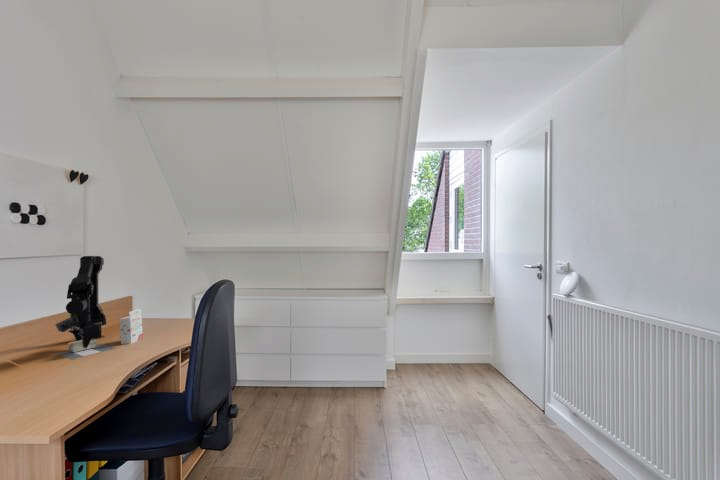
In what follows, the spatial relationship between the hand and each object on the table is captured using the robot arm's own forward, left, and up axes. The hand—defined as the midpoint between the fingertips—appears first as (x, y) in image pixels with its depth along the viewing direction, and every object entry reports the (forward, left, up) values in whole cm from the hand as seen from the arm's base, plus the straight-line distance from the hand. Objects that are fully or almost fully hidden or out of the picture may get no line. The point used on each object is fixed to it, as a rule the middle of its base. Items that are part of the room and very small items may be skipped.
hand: (82, 346), depth 153 cm
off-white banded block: (0, 0, -1) cm, 1 cm away
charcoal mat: (+4, 0, -2) cm, 4 cm away
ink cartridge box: (+6, +17, -2) cm, 18 cm away
